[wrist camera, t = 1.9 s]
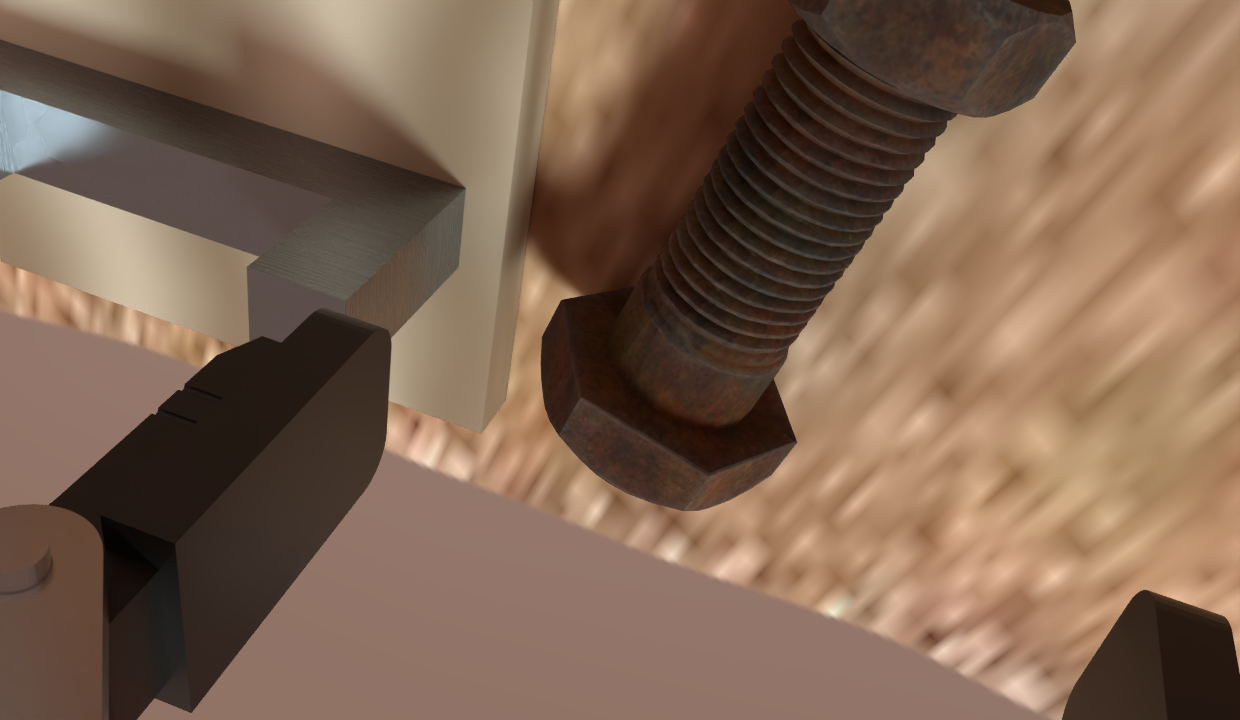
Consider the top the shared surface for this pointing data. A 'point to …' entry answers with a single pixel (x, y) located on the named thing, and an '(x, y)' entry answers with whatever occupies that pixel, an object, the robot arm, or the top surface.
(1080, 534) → the top surface
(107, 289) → the collar board
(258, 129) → the grey notched cradle
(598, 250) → the top surface
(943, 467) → the top surface
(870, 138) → the bolt
